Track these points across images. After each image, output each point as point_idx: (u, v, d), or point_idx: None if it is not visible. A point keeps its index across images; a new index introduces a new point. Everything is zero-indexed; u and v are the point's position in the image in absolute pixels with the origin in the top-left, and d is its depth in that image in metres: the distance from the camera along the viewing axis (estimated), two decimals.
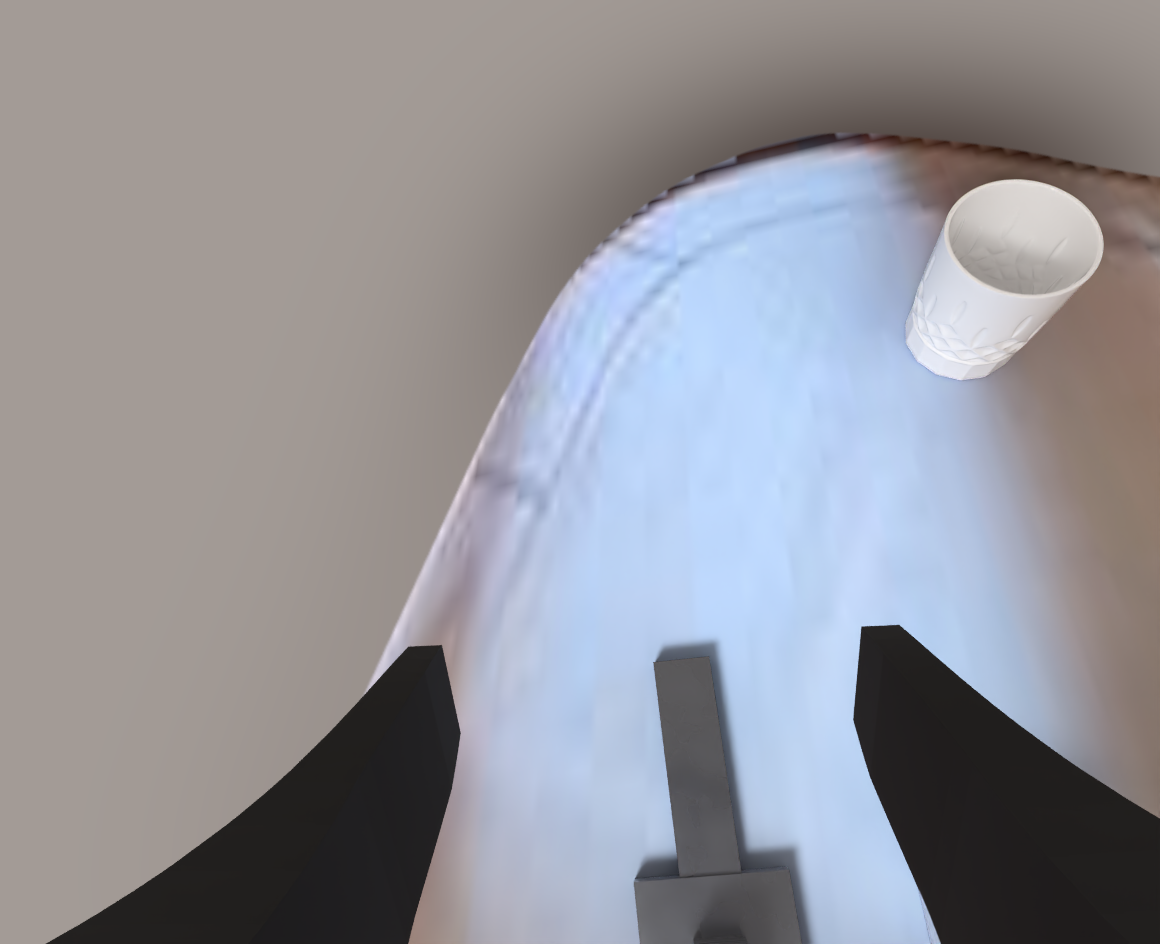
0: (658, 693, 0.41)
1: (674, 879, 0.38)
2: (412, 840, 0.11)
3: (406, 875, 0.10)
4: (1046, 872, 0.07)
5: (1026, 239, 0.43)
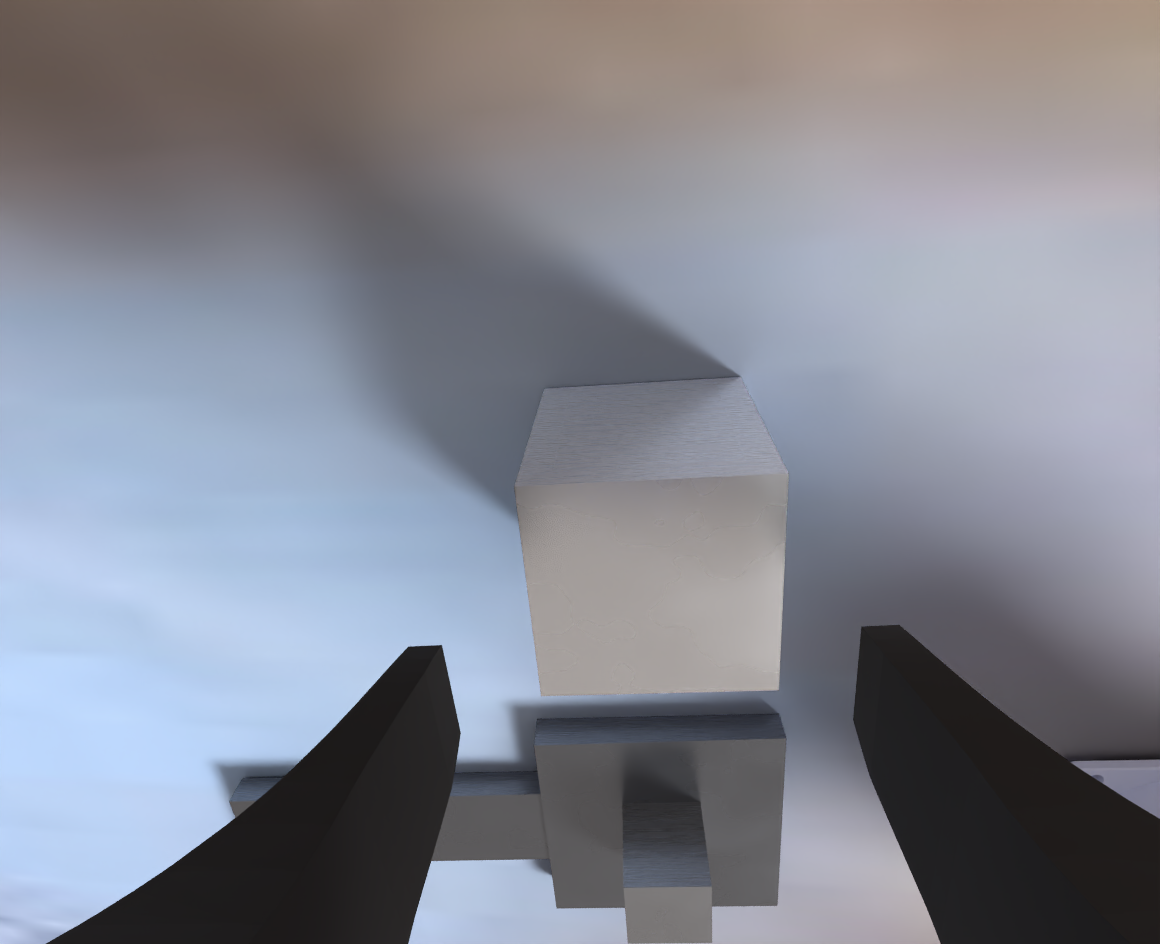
0: None
1: (552, 868, 0.26)
2: (412, 840, 0.11)
3: (406, 875, 0.10)
4: (1045, 872, 0.07)
5: None
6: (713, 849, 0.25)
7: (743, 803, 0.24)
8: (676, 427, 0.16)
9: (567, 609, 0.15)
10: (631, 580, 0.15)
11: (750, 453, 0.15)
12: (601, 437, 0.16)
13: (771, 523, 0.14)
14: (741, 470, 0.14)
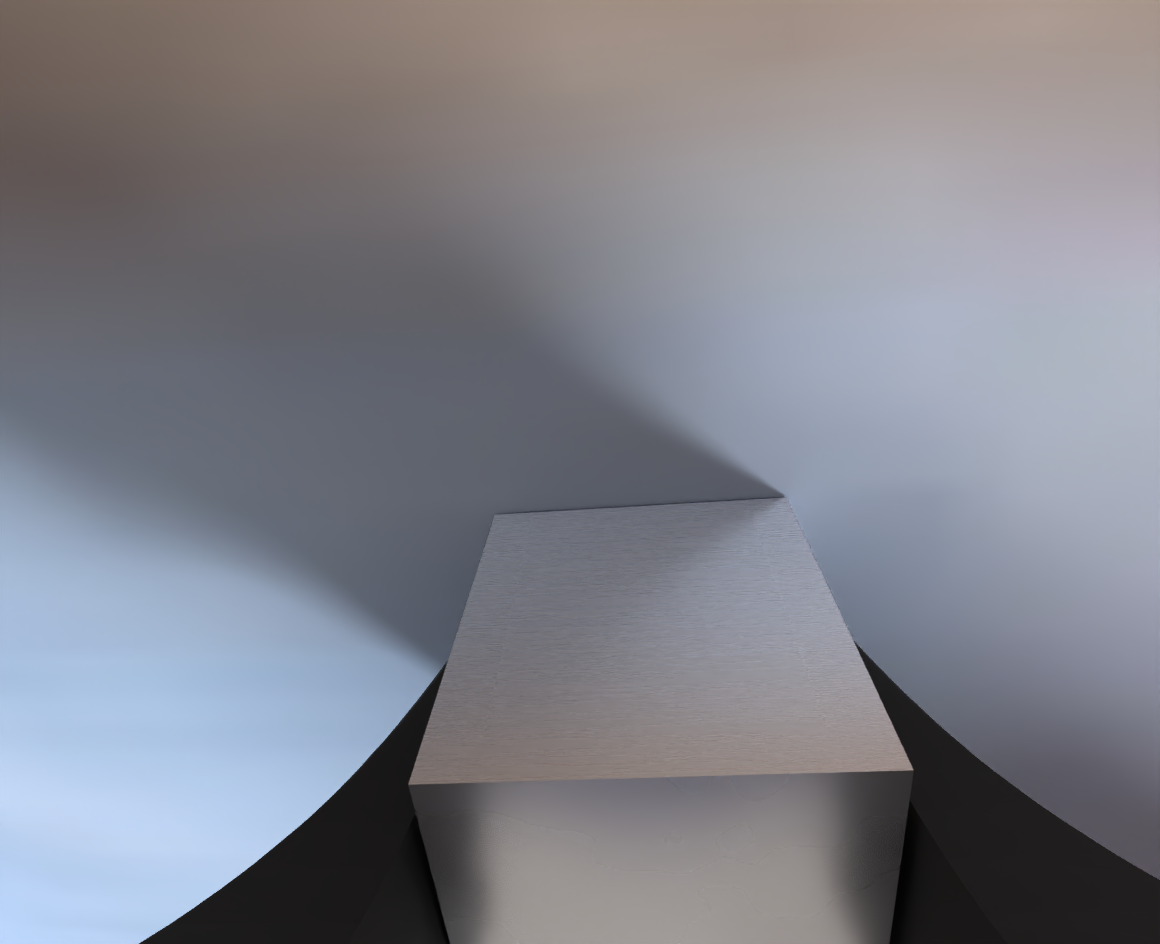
0: None
1: None
2: None
3: None
4: (945, 874, 0.07)
5: None
6: None
7: None
8: (696, 619, 0.10)
9: None
10: (625, 919, 0.08)
11: (830, 698, 0.08)
12: (571, 641, 0.10)
13: (875, 842, 0.08)
14: (821, 753, 0.08)
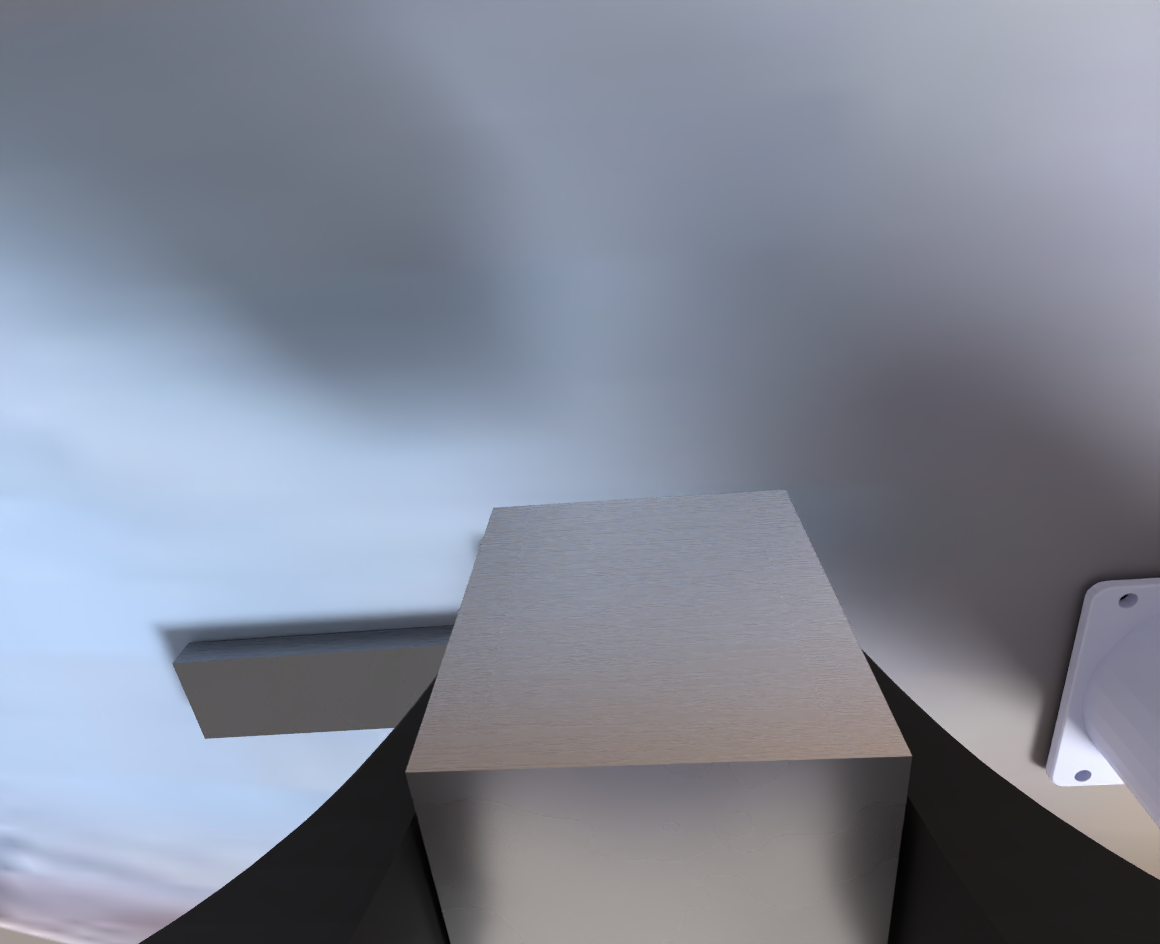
0: (254, 734, 0.24)
1: None
2: None
3: None
4: (945, 873, 0.07)
5: None
6: None
7: None
8: (694, 608, 0.10)
9: (514, 943, 0.09)
10: (622, 907, 0.08)
11: (828, 686, 0.08)
12: (570, 630, 0.10)
13: (874, 830, 0.08)
14: (819, 740, 0.08)
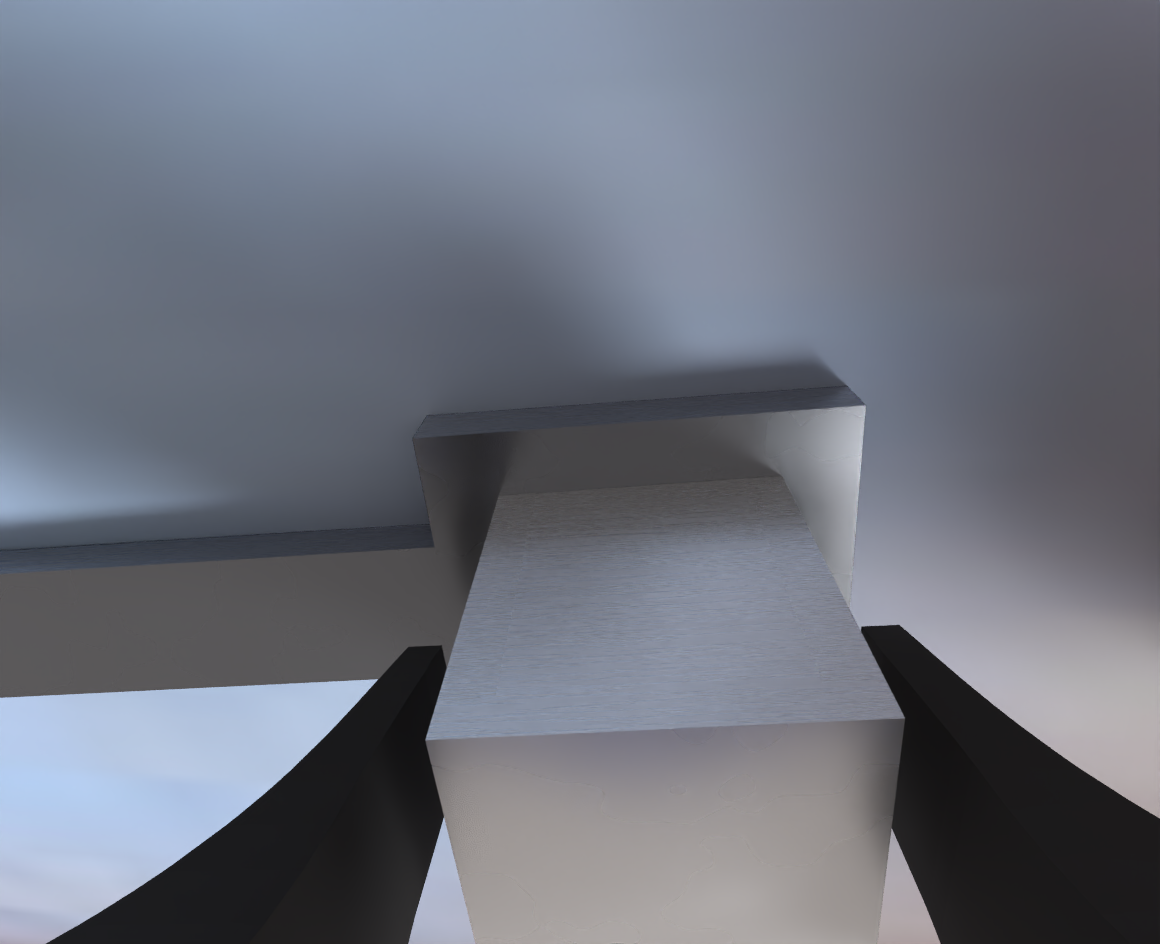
0: (56, 692, 0.16)
1: None
2: (412, 840, 0.11)
3: (406, 875, 0.10)
4: (1045, 872, 0.07)
5: None
6: None
7: None
8: (696, 587, 0.10)
9: (527, 906, 0.09)
10: (631, 869, 0.09)
11: (826, 657, 0.09)
12: (577, 608, 0.10)
13: (870, 790, 0.08)
14: (818, 705, 0.08)
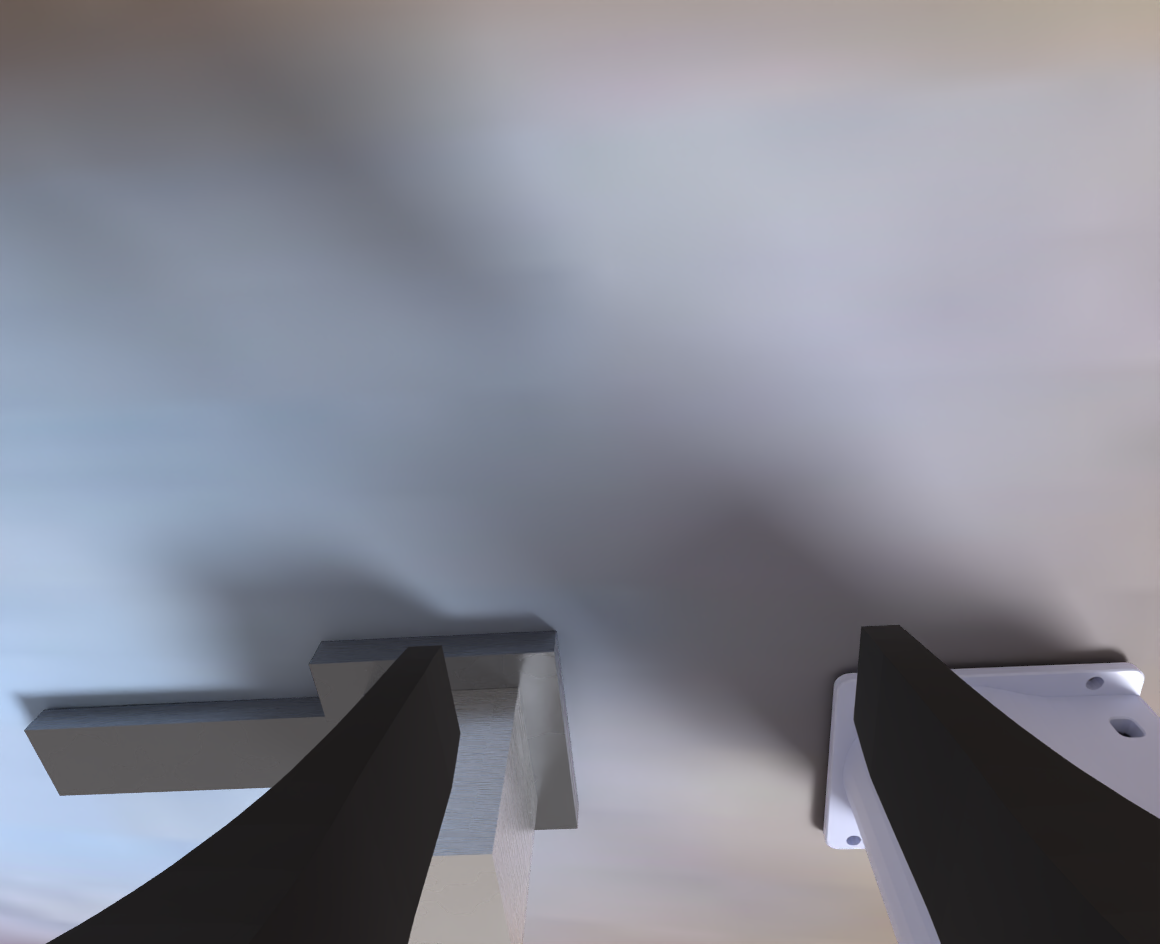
0: (103, 792, 0.27)
1: None
2: (412, 840, 0.11)
3: (406, 875, 0.10)
4: (1046, 872, 0.07)
5: None
6: None
7: (524, 721, 0.24)
8: None
9: None
10: None
11: (477, 819, 0.19)
12: None
13: (486, 882, 0.19)
14: (461, 846, 0.18)
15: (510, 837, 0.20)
